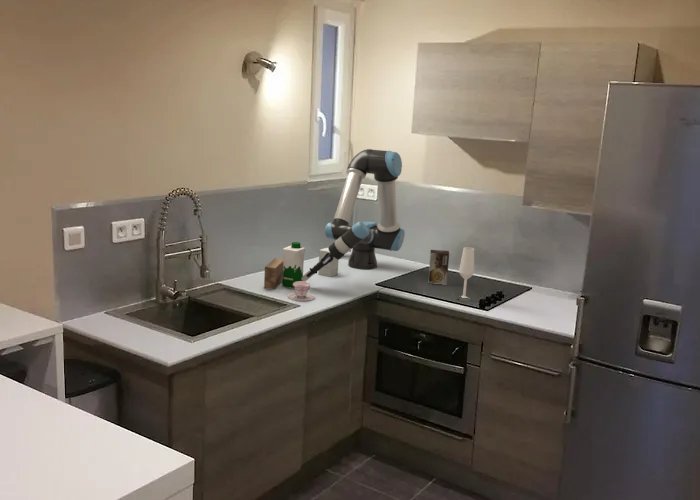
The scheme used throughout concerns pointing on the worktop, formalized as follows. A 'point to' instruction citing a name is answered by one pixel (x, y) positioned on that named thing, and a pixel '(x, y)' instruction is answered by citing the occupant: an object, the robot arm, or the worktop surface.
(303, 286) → the teacup
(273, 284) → the board
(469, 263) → the champagne flute
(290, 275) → the soya milk
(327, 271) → the supplement box
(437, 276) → the coffee box
